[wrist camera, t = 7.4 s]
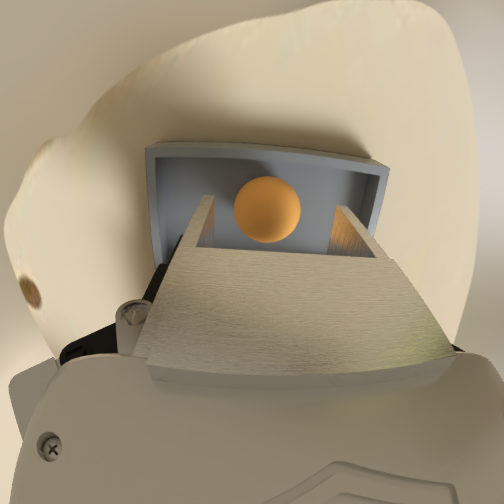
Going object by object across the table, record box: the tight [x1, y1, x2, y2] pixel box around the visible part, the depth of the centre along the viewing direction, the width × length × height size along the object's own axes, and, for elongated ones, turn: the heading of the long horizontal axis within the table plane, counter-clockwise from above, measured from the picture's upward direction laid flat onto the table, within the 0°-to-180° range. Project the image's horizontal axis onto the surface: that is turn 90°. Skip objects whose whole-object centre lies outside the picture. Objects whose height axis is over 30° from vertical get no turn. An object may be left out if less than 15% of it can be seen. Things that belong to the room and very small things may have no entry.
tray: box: [145, 142, 390, 269], centre depth 18 cm, size 9×15×2 cm, turn 86°
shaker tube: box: [132, 195, 458, 390], centre depth 9 cm, size 6×6×9 cm
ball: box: [234, 176, 301, 243], centre depth 16 cm, size 4×4×4 cm
